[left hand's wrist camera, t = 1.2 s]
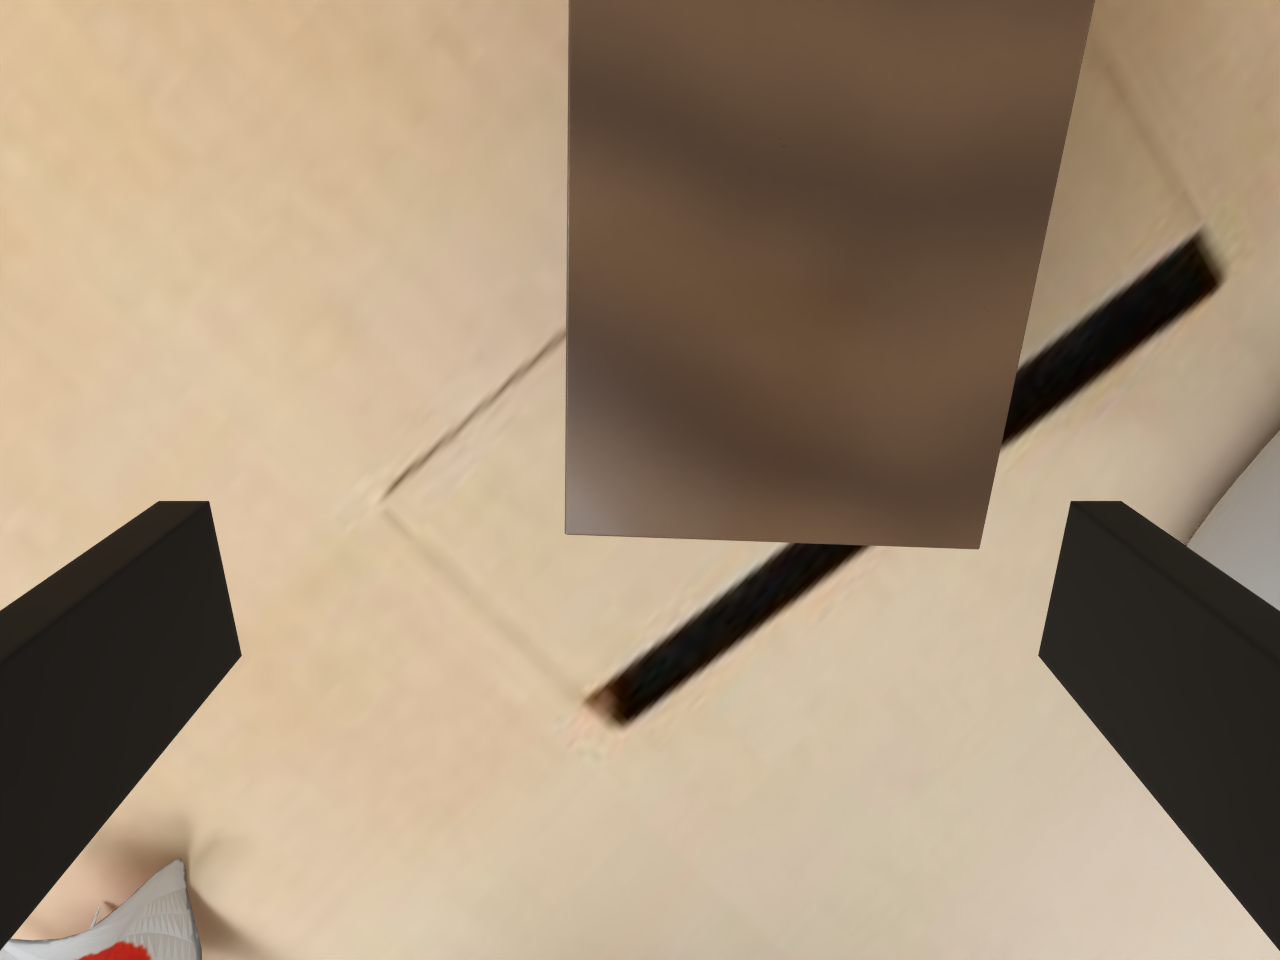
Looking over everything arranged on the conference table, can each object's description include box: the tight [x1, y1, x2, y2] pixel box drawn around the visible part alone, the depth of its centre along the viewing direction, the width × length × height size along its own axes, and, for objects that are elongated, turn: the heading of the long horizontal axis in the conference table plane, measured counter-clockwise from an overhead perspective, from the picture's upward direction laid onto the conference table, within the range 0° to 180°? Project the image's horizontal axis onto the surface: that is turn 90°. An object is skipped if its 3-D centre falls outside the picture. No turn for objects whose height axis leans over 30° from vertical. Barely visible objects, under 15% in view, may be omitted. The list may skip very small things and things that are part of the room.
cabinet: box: [565, 0, 1095, 549], centre depth 24 cm, size 20×11×12 cm, turn 178°
